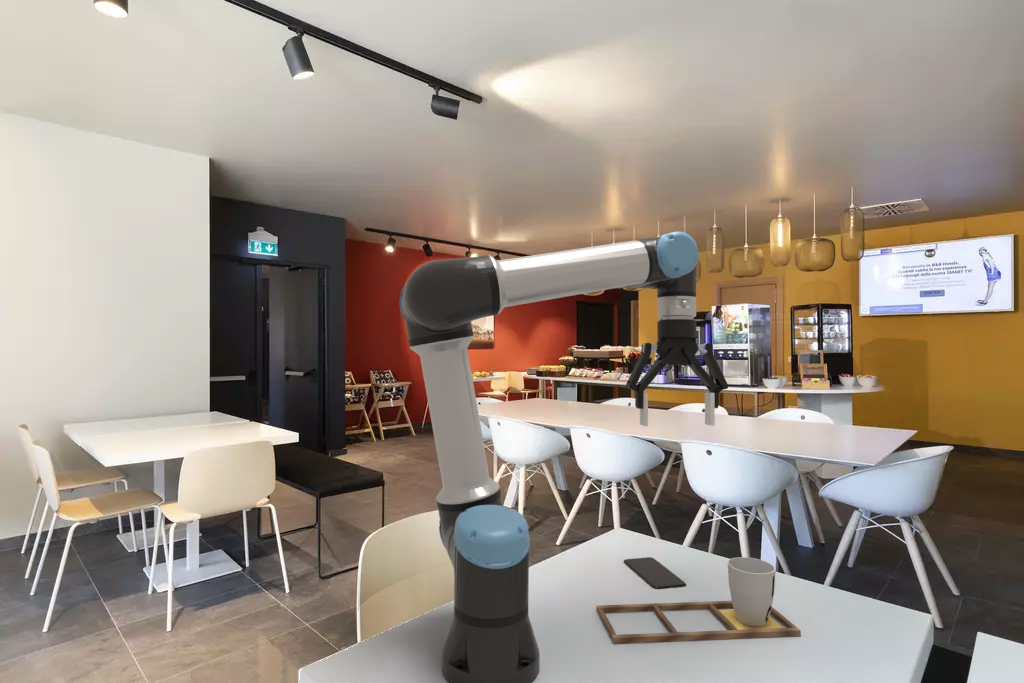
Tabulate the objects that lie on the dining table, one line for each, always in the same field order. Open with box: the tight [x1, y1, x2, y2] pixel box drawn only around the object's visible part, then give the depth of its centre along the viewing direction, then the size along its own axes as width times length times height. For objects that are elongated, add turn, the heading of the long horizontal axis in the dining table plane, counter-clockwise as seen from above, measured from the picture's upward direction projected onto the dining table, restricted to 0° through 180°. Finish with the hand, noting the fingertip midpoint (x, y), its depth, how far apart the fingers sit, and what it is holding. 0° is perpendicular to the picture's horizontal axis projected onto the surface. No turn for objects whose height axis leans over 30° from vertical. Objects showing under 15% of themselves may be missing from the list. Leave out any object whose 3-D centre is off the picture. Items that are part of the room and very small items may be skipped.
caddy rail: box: [595, 600, 802, 645], centre depth 100 cm, size 33×12×1 cm, turn 95°
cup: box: [727, 556, 776, 627], centre depth 101 cm, size 8×8×10 cm
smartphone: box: [623, 556, 687, 590], centre depth 123 cm, size 8×1×16 cm
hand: (676, 425), depth 110 cm, fingers open, 13 cm apart
